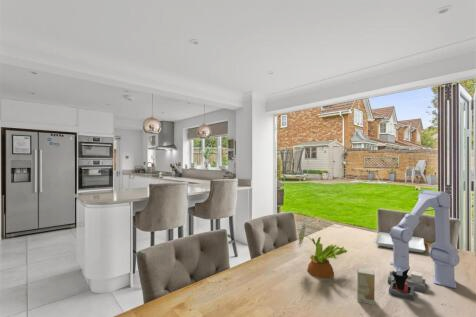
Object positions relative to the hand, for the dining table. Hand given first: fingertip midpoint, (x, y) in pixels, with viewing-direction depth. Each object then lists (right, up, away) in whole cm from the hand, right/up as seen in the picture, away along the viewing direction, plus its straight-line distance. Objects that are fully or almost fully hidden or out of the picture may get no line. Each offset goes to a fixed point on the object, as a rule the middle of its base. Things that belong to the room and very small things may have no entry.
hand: (401, 285), depth 109 cm
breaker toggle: (+11, -1, +6) cm, 12 cm away
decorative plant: (-28, -4, +19) cm, 34 cm away
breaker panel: (+8, -3, +8) cm, 11 cm away
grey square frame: (0, -3, 0) cm, 3 cm away
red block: (0, -3, 0) cm, 3 cm away
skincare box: (-19, -3, -6) cm, 20 cm away
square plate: (+38, -3, +60) cm, 71 cm away
